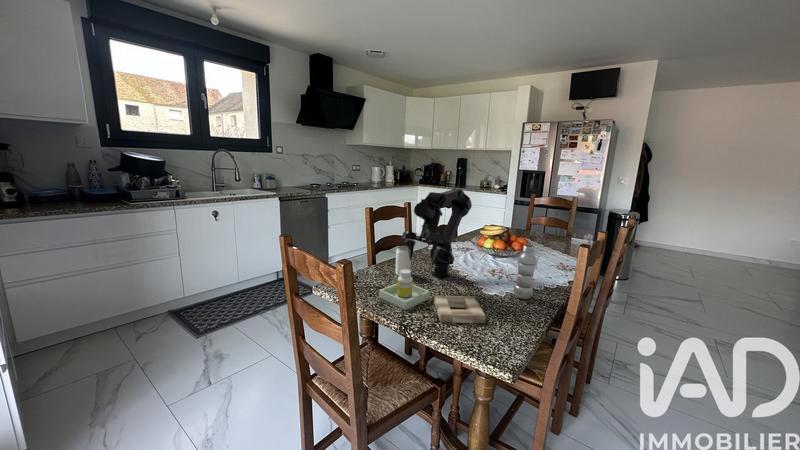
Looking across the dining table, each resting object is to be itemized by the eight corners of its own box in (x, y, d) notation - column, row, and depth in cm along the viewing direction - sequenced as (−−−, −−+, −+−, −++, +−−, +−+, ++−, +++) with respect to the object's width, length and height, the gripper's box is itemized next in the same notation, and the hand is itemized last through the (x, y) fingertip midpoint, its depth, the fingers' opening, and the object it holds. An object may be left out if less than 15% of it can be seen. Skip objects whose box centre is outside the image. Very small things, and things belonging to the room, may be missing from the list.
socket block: (434, 302, 111) (434, 295, 111) (473, 302, 112) (473, 296, 111) (440, 322, 97) (440, 314, 97) (484, 323, 98) (485, 315, 97)
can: (408, 277, 133) (409, 250, 130) (393, 276, 134) (394, 249, 132) (411, 272, 139) (412, 246, 137) (397, 271, 140) (398, 245, 138)
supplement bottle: (399, 292, 116) (400, 267, 114) (413, 294, 115) (414, 269, 113) (395, 298, 111) (396, 272, 109) (410, 301, 110) (411, 274, 108)
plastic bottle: (509, 295, 119) (515, 244, 115) (522, 292, 122) (529, 243, 118) (521, 302, 113) (528, 249, 109) (535, 299, 116) (542, 247, 112)
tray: (403, 288, 122) (403, 280, 122) (429, 299, 113) (430, 291, 113) (378, 297, 113) (379, 289, 112) (404, 310, 104) (405, 302, 104)
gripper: (415, 214, 112) (404, 257, 110) (461, 229, 116) (452, 270, 114) (406, 217, 123) (396, 256, 120) (449, 230, 127) (440, 268, 125)
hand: (421, 262), depth 120 cm, fingers open, 9 cm apart
